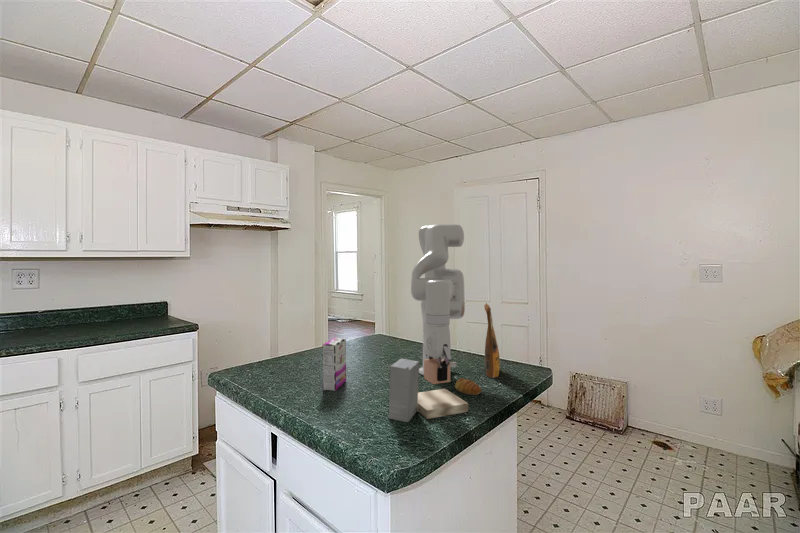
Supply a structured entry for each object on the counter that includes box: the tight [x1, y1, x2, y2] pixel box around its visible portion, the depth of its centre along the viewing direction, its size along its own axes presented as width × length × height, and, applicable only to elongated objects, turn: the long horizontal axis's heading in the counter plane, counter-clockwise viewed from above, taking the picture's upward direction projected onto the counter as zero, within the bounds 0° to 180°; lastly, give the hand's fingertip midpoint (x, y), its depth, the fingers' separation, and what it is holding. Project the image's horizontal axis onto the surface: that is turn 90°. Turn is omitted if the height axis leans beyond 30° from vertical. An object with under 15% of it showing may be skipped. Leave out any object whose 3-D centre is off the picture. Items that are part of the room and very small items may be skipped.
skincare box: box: [388, 358, 420, 423], centre depth 110 cm, size 8×7×16 cm
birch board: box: [417, 388, 469, 420], centre depth 117 cm, size 14×14×2 cm
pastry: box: [454, 377, 482, 396], centre depth 131 cm, size 9×7×4 cm
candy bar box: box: [322, 337, 347, 392], centre depth 135 cm, size 11×5×16 cm, turn 168°
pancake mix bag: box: [484, 302, 501, 379], centre depth 153 cm, size 7×19×28 cm, turn 164°
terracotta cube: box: [423, 358, 452, 385], centre depth 116 cm, size 6×6×6 cm
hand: (436, 376), depth 116 cm, fingers closed on terracotta cube, 6 cm apart
